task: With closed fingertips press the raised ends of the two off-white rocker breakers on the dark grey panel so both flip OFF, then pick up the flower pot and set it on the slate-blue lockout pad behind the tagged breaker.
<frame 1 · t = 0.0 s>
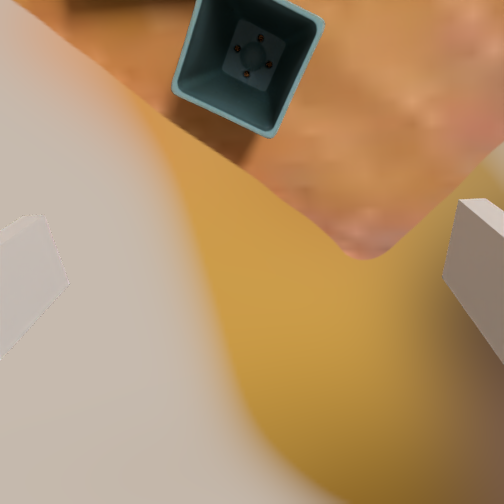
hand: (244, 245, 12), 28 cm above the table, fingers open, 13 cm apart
flower pot: (252, 56, 34), on the table
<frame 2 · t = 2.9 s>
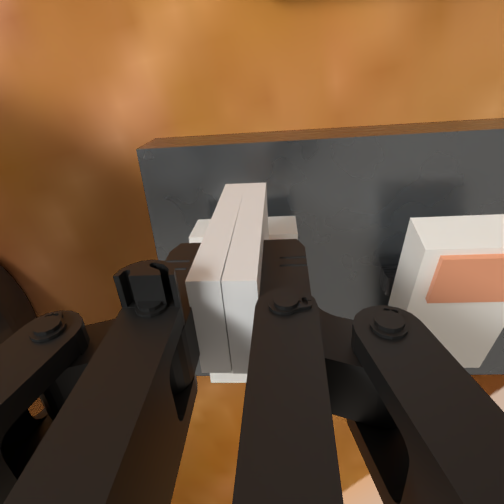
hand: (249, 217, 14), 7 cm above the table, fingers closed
breaker panel: (339, 250, 22), on the table
breaker 2: (449, 302, 17), point 6 cm above the table, hinge at 15.0°
breaker 1: (250, 305, 17), point 6 cm above the table, hinge at 0.0°, touching gripper
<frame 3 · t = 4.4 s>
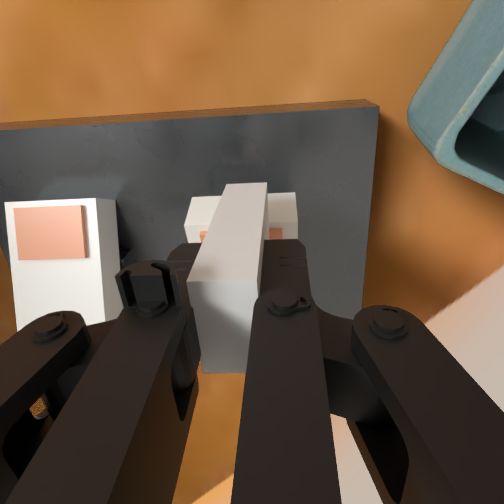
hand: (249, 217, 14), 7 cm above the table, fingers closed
flower pot: (490, 68, 18), on the table
breaker panel: (190, 231, 23), on the table
breaker 2: (249, 279, 17), point 6 cm above the table, hinge at 14.0°, touching gripper
breaker 1: (67, 282, 18), point 6 cm above the table, hinge at -22.6°
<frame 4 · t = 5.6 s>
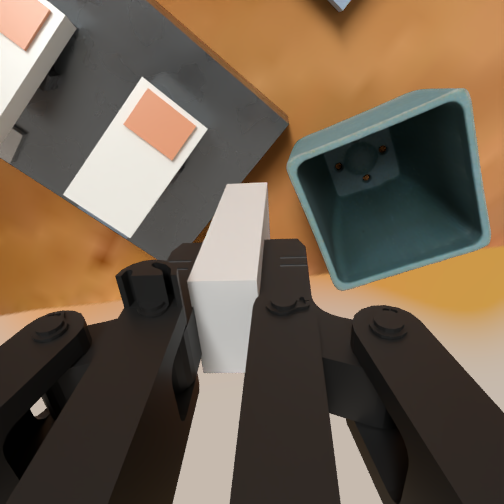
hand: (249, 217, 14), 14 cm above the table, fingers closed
flower pot: (358, 157, 27), on the table
breaker panel: (113, 103, 26), on the table
breaker 2: (138, 161, 22), point 6 cm above the table, hinge at -18.6°
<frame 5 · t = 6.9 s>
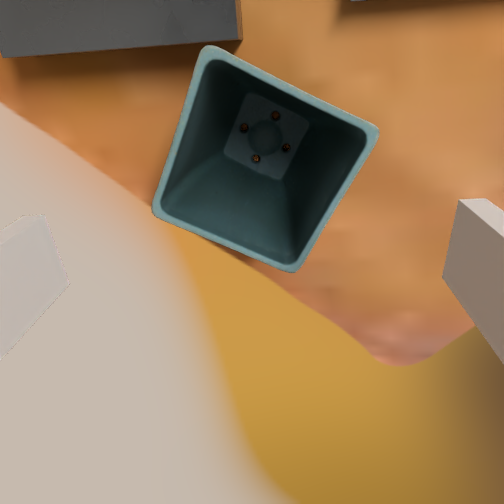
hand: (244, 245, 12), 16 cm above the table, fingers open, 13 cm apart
flower pot: (264, 136, 26), on the table
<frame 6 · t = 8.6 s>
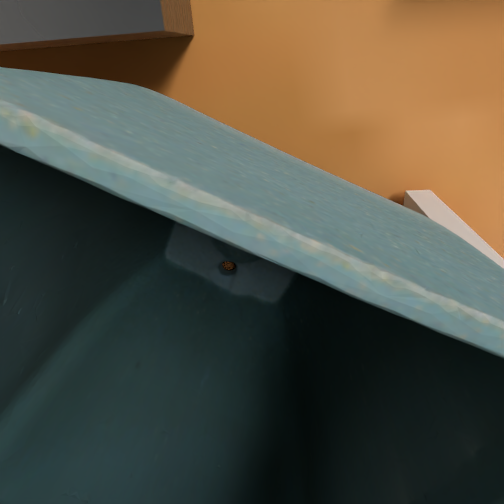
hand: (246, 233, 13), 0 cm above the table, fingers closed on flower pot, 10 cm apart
flower pot: (243, 225, 13), on the table, touching gripper
when the fingers open (3 cm above the table, at t = 14.3 s): flower pot moves 2 cm, resting on lockout pad.
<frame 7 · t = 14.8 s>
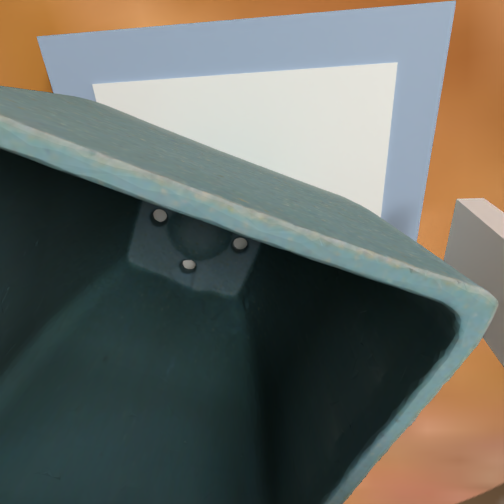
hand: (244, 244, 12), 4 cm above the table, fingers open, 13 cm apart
flower pot: (199, 226, 14), point 2 cm above the table, touching gripper, lockout pad
lockout pad: (252, 201, 16), on the table
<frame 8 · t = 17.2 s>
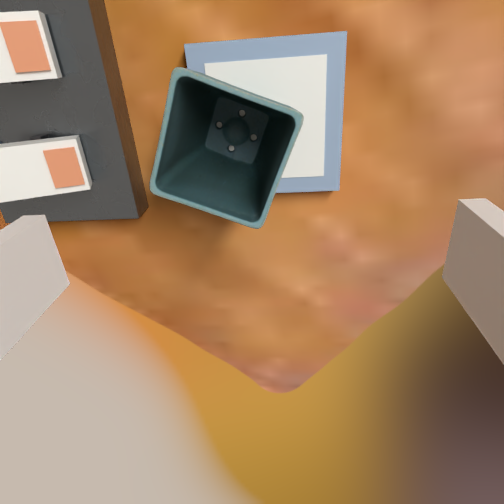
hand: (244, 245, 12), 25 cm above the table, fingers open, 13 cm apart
flower pot: (235, 130, 33), point 1 cm above the table, touching lockout pad
breaker panel: (55, 110, 35), on the table
breaker 2: (35, 169, 32), point 6 cm above the table, hinge at -20.6°
lockout pad: (268, 120, 34), on the table
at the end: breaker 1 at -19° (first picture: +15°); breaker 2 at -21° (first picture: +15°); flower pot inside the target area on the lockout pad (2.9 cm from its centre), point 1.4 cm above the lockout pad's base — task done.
